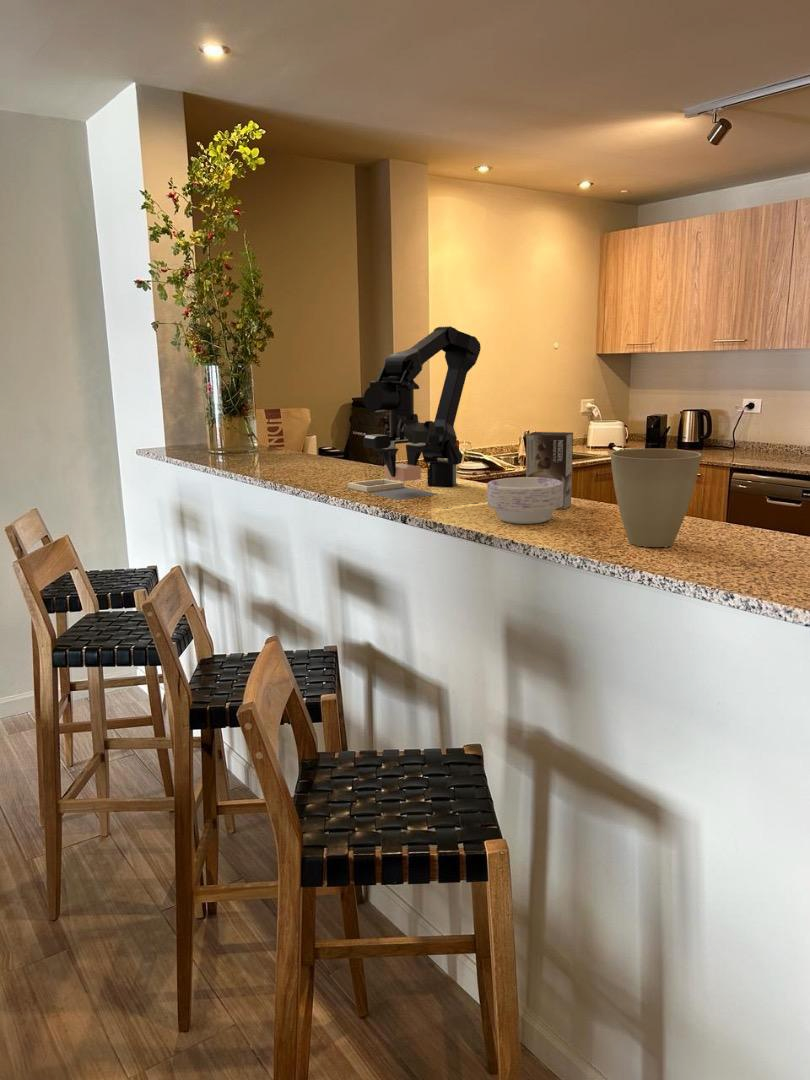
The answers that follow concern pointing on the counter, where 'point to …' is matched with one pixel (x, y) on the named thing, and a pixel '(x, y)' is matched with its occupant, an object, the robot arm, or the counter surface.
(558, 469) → the coffee box
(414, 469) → the pink rectangular block
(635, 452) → the plant pot
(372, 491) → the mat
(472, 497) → the counter surface
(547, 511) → the paper bowls
